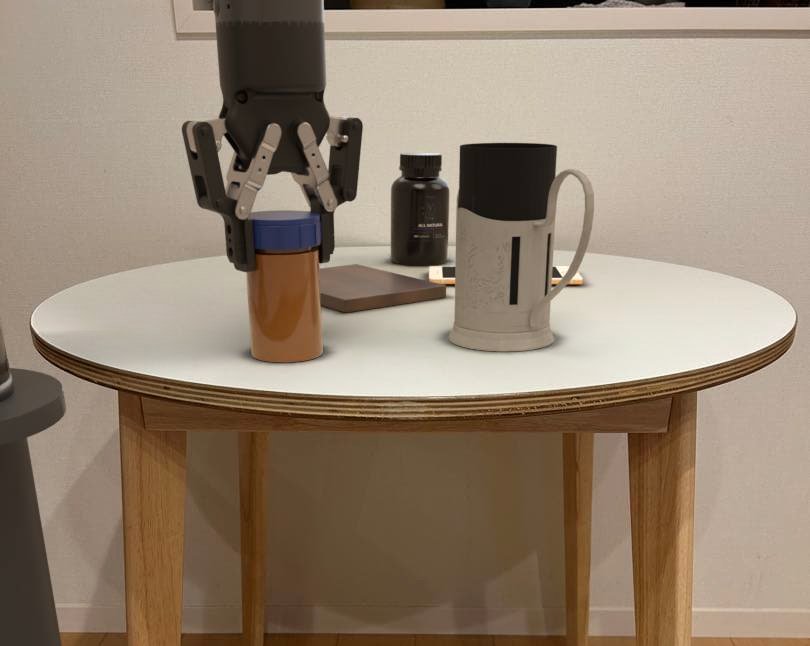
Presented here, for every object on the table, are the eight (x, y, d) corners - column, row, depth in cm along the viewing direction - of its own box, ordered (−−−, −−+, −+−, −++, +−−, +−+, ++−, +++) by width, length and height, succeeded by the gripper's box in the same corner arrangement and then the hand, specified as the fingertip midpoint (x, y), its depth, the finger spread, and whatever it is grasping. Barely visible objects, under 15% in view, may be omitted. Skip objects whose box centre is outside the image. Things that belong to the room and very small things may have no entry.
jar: (273, 366, 76) (265, 231, 72) (238, 351, 80) (229, 223, 76) (336, 355, 79) (332, 225, 75) (299, 341, 83) (293, 218, 79)
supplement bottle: (429, 268, 115) (430, 156, 111) (379, 263, 119) (378, 154, 114) (458, 259, 121) (460, 152, 116) (410, 255, 124) (410, 150, 119)
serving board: (345, 313, 93) (344, 299, 93) (261, 287, 105) (260, 275, 105) (446, 297, 100) (446, 285, 99) (356, 274, 112) (356, 263, 111)
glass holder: (510, 322, 90) (517, 141, 83) (622, 356, 79) (640, 150, 72) (428, 334, 85) (429, 144, 79) (535, 372, 74) (546, 155, 68)
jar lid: (330, 247, 75) (329, 217, 74) (251, 252, 73) (249, 221, 72) (308, 236, 80) (307, 208, 79) (234, 240, 78) (232, 212, 77)
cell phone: (583, 284, 105) (583, 278, 105) (428, 284, 105) (428, 278, 105) (573, 271, 112) (573, 266, 112) (428, 271, 112) (428, 265, 112)
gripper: (199, 12, 63) (220, 284, 70) (385, 18, 71) (388, 263, 78) (150, 17, 69) (174, 269, 76) (328, 23, 77) (335, 251, 84)
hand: (283, 265), depth 77 cm, fingers closed on jar lid, 6 cm apart
